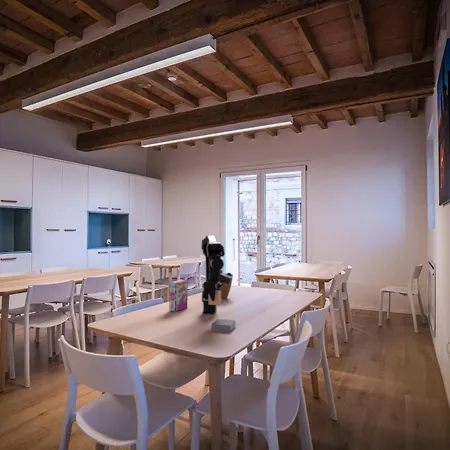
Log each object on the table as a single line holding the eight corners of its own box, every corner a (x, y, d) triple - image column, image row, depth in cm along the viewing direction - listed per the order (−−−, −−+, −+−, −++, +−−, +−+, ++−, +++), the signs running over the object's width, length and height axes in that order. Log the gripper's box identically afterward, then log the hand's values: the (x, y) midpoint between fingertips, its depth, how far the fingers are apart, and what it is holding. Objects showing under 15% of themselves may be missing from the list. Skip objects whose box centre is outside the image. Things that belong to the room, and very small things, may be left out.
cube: (208, 304, 160) (208, 292, 160) (211, 301, 165) (211, 289, 165) (218, 305, 159) (218, 292, 158) (221, 302, 163) (221, 290, 163)
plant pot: (232, 300, 214) (232, 275, 215) (210, 300, 215) (210, 275, 215) (232, 296, 229) (232, 272, 229) (211, 295, 230) (211, 272, 230)
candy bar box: (175, 312, 184) (175, 282, 185) (168, 311, 187) (168, 282, 187) (188, 308, 194) (188, 280, 194) (181, 307, 196) (181, 279, 197)
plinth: (211, 330, 151) (211, 324, 151) (217, 325, 159) (217, 318, 160) (230, 332, 148) (230, 325, 148) (235, 326, 157) (235, 320, 157)
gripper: (225, 270, 151) (225, 305, 150) (235, 266, 169) (235, 297, 168) (202, 270, 154) (202, 303, 153) (214, 265, 172) (214, 296, 171)
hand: (214, 300), depth 162 cm, fingers closed on cube, 5 cm apart
